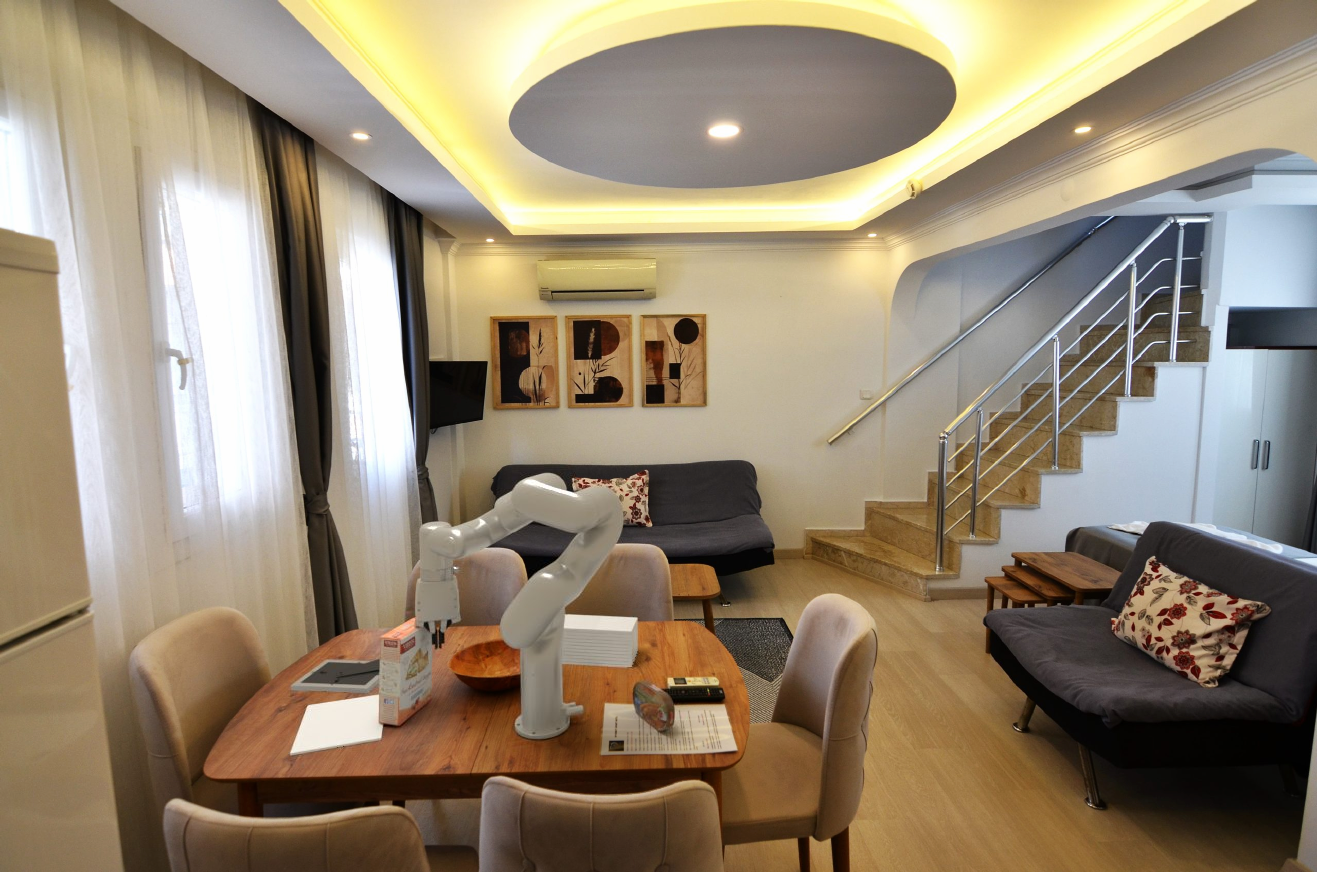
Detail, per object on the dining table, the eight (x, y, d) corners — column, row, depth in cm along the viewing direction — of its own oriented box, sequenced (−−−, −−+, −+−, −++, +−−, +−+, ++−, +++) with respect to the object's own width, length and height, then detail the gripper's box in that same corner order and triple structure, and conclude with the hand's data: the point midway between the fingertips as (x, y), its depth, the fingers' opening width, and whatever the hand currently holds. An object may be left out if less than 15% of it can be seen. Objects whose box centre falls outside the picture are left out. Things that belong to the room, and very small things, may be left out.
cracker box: (400, 727, 149) (401, 638, 148) (377, 723, 150) (377, 635, 149) (433, 699, 163) (434, 618, 161) (411, 696, 164) (412, 616, 163)
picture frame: (397, 669, 182) (326, 666, 183) (396, 659, 181) (326, 656, 183) (367, 696, 166) (290, 693, 168) (367, 685, 166) (290, 682, 167)
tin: (631, 709, 158) (631, 676, 157) (642, 706, 160) (642, 673, 159) (665, 738, 145) (665, 702, 145) (677, 734, 147) (677, 698, 146)
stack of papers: (521, 662, 185) (520, 625, 184) (533, 647, 196) (532, 612, 195) (631, 668, 181) (631, 631, 180) (637, 652, 192) (637, 617, 191)
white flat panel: (386, 695, 165) (386, 693, 165) (381, 740, 144) (381, 737, 144) (307, 707, 159) (307, 705, 159) (290, 755, 138) (289, 753, 138)
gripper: (468, 566, 162) (469, 637, 164) (404, 571, 157) (406, 644, 159) (469, 575, 155) (470, 649, 157) (402, 580, 150) (404, 657, 152)
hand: (438, 646), depth 158 cm, fingers closed
